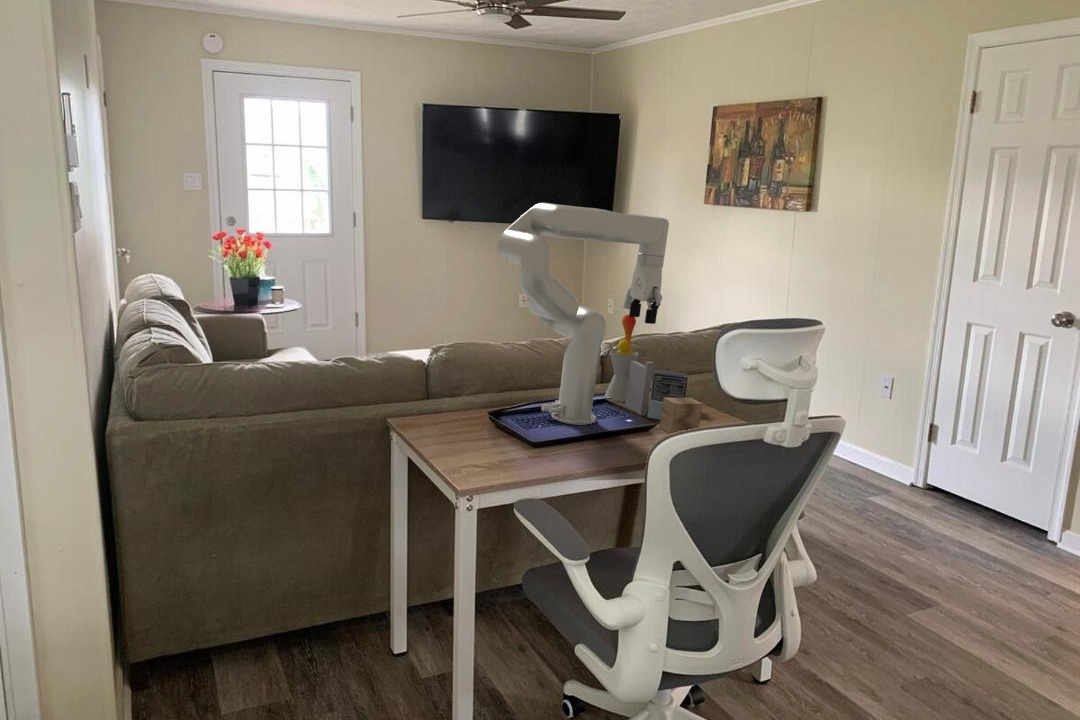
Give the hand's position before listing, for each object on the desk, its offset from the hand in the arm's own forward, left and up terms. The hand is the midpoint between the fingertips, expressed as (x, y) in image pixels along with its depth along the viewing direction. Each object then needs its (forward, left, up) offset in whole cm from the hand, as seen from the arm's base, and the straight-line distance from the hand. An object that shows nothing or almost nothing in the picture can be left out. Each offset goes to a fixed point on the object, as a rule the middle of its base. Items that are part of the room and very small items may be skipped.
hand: (641, 320), depth 234 cm
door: (+10, -9, -28) cm, 31 cm away
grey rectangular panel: (+4, +4, -28) cm, 29 cm away
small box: (+18, +9, -28) cm, 35 cm away
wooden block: (+7, -16, -28) cm, 34 cm away
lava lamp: (+5, +17, -28) cm, 34 cm away
